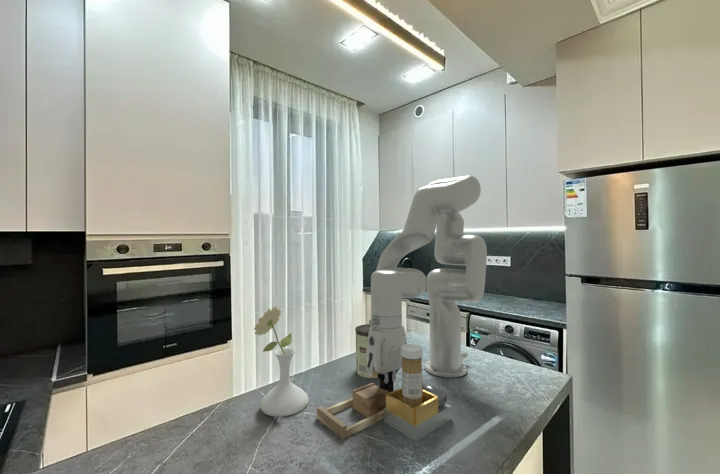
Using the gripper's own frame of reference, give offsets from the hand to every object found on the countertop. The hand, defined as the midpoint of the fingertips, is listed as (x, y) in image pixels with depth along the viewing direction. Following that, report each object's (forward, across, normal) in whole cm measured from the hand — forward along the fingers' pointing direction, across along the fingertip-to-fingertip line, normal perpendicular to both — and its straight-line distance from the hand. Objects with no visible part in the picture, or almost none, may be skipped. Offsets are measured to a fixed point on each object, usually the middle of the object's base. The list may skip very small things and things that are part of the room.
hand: (386, 396), depth 76 cm
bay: (+3, -7, 0) cm, 8 cm away
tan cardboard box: (+1, -5, 0) cm, 5 cm away
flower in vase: (+3, -20, +15) cm, 25 cm away
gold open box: (+2, 0, -10) cm, 10 cm away
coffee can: (+3, +10, +16) cm, 19 cm away
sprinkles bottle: (-1, -2, -10) cm, 10 cm away
